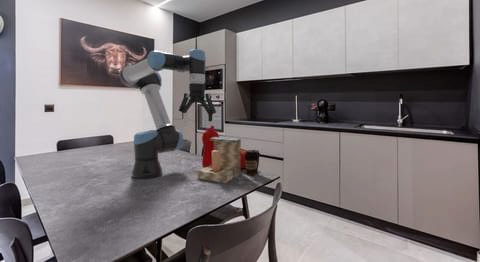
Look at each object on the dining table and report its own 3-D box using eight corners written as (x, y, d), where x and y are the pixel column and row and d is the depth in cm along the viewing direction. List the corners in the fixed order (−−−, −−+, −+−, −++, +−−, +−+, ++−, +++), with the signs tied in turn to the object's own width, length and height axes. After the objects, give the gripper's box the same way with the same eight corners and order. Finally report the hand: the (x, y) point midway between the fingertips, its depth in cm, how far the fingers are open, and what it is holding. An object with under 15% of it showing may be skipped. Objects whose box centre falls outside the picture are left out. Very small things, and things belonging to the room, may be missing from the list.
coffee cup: (258, 177, 122) (259, 152, 120) (243, 176, 124) (243, 152, 122) (260, 172, 130) (260, 149, 129) (245, 171, 132) (246, 148, 131)
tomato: (224, 169, 136) (224, 151, 135) (233, 164, 149) (233, 147, 148) (246, 171, 132) (247, 153, 131) (253, 166, 144) (253, 149, 143)
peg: (210, 178, 120) (210, 151, 118) (214, 176, 123) (214, 150, 122) (217, 179, 118) (217, 152, 116) (221, 177, 122) (221, 150, 120)
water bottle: (208, 163, 151) (208, 124, 148) (221, 165, 144) (221, 125, 141) (198, 166, 143) (197, 125, 140) (211, 169, 137) (210, 126, 134)
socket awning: (197, 178, 120) (197, 141, 118) (215, 170, 135) (215, 137, 133) (224, 183, 113) (224, 143, 111) (240, 173, 128) (240, 139, 126)
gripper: (171, 82, 115) (171, 125, 118) (215, 82, 105) (214, 129, 108) (181, 83, 122) (181, 124, 125) (223, 84, 112) (222, 128, 115)
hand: (196, 126), depth 116 cm, fingers open, 13 cm apart
